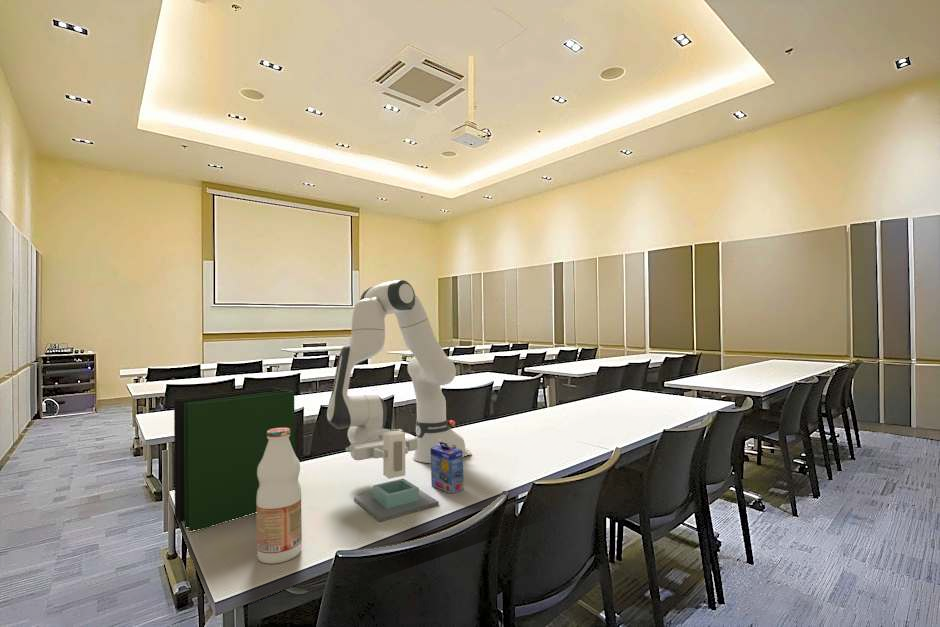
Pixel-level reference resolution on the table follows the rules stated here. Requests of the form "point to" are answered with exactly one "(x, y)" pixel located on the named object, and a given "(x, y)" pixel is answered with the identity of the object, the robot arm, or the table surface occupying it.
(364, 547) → the table surface
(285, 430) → the fruit juice
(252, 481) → the binder
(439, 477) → the ink cartridge box
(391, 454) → the keyed plug
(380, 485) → the socket dock
